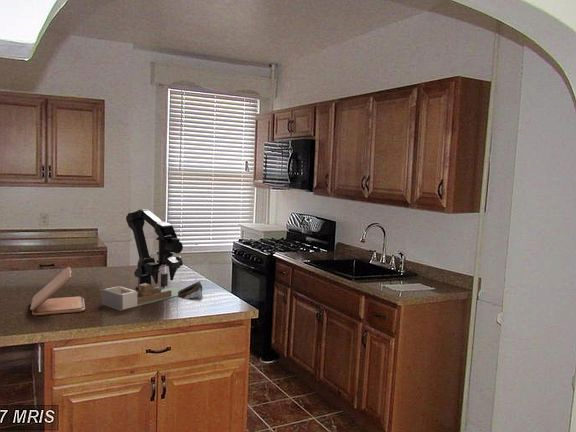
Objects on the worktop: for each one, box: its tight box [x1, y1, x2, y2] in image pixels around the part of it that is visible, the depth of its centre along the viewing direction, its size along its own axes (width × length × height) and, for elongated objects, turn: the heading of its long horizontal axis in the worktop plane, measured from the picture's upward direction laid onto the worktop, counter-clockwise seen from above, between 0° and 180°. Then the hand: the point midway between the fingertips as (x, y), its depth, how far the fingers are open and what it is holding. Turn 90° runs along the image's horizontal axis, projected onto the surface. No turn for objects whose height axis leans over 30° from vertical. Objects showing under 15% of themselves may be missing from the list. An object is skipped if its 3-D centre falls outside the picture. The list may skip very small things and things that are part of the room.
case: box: [29, 266, 86, 316], centre depth 212 cm, size 20×21×16 cm
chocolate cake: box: [178, 280, 204, 300], centre depth 238 cm, size 10×7×12 cm
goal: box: [101, 285, 138, 311], centre depth 219 cm, size 13×9×6 cm
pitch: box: [102, 287, 181, 312], centre depth 232 cm, size 13×40×3 cm, turn 144°
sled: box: [138, 272, 169, 298], centre depth 234 cm, size 5×15×10 cm, turn 144°
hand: (164, 282), depth 238 cm, fingers open, 9 cm apart
